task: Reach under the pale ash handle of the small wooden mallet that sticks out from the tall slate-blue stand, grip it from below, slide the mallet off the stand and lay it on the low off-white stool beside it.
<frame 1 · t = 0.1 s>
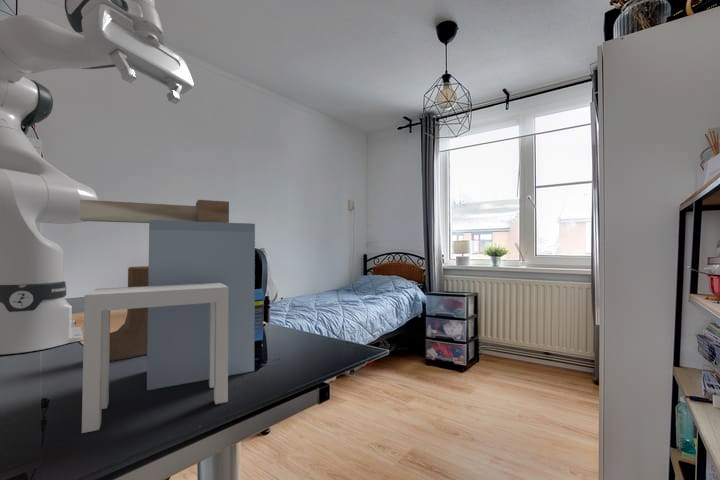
hand: (153, 91, 65), 52 cm above the table, tool tilted 20°, fingers open, 8 cm apart
stool: (161, 403, 47), on the table
label tape box: (242, 343, 78), on the table
wooden block: (128, 356, 69), on the table
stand: (201, 370, 60), on the table
mallet: (150, 222, 56), point 26 cm above the table, touching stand
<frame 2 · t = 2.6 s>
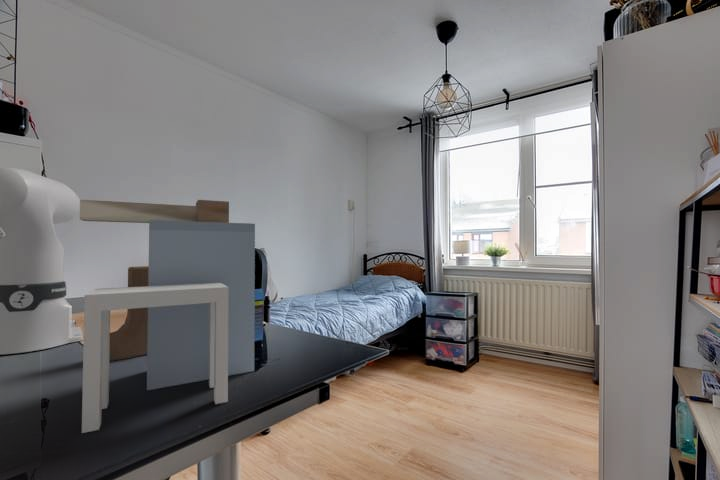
nothing on the table moved.
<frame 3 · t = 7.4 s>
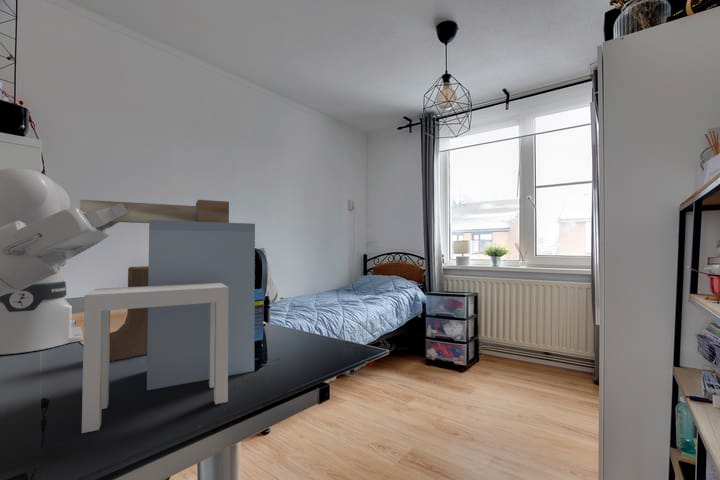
hand: (127, 209, 55), 28 cm above the table, tool pointing upward, fingers closed on mallet, 3 cm apart
mallet: (150, 222, 56), point 26 cm above the table, touching gripper, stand
everything else where it was.
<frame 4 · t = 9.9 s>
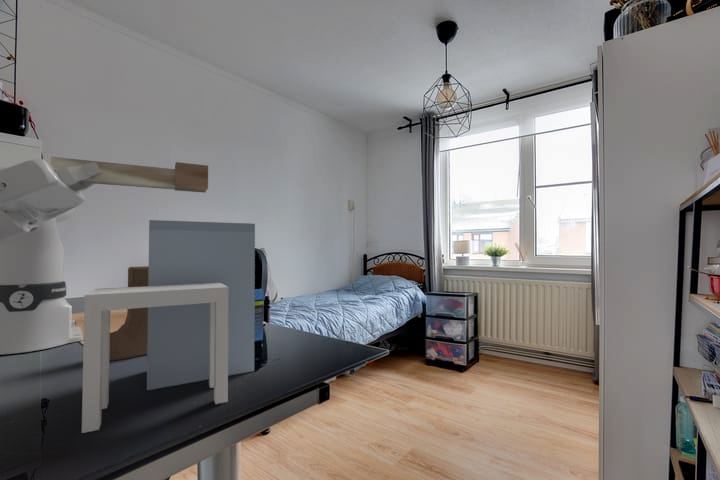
hand: (101, 170, 53), 34 cm above the table, tool pointing upward, fingers closed on mallet, 3 cm apart
mallet: (126, 184, 55), point 32 cm above the table, touching gripper
everything else where it was.
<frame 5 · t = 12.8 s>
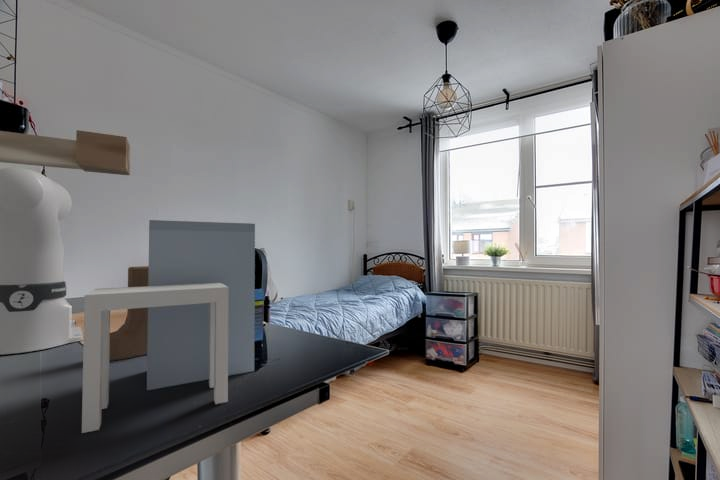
mallet: (4, 160, 40), point 32 cm above the table, touching gripper
everything else where it was.
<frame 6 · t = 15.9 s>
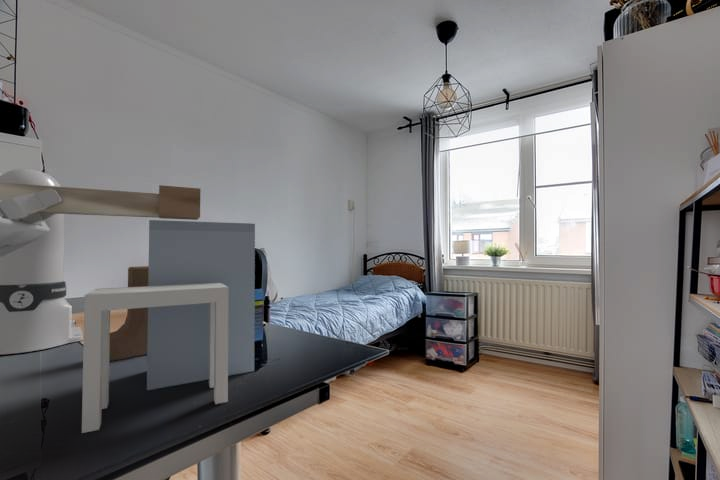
hand: (64, 197, 42), 28 cm above the table, tool pointing upward, fingers closed on mallet, 3 cm apart
mallet: (96, 214, 44), point 26 cm above the table, touching gripper
everything else where it was.
when the fingers open (19 cm above the table, at t = 18.5 s): mallet drops 1 cm, resting on stool.
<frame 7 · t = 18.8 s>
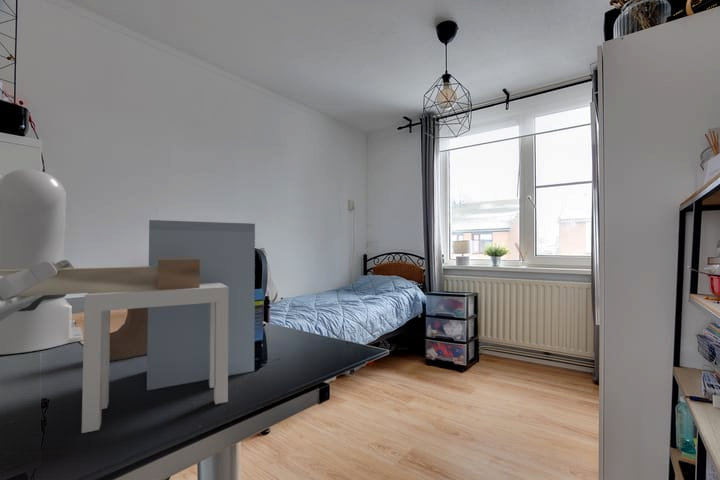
hand: (63, 265, 42), 19 cm above the table, tool pointing upward, fingers open, 6 cm apart
mallet: (94, 291, 43), point 16 cm above the table, touching stool
everything else where it was.
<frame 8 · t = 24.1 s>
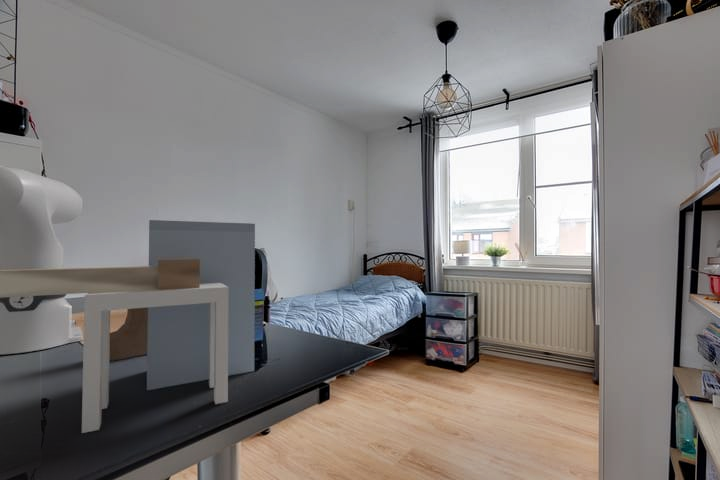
nothing on the table moved.
at the end: mallet inside the target area (0.6 cm from its centre), point 16.0 cm above the table; the gripper is holding nothing; mallet tilted 0° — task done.
